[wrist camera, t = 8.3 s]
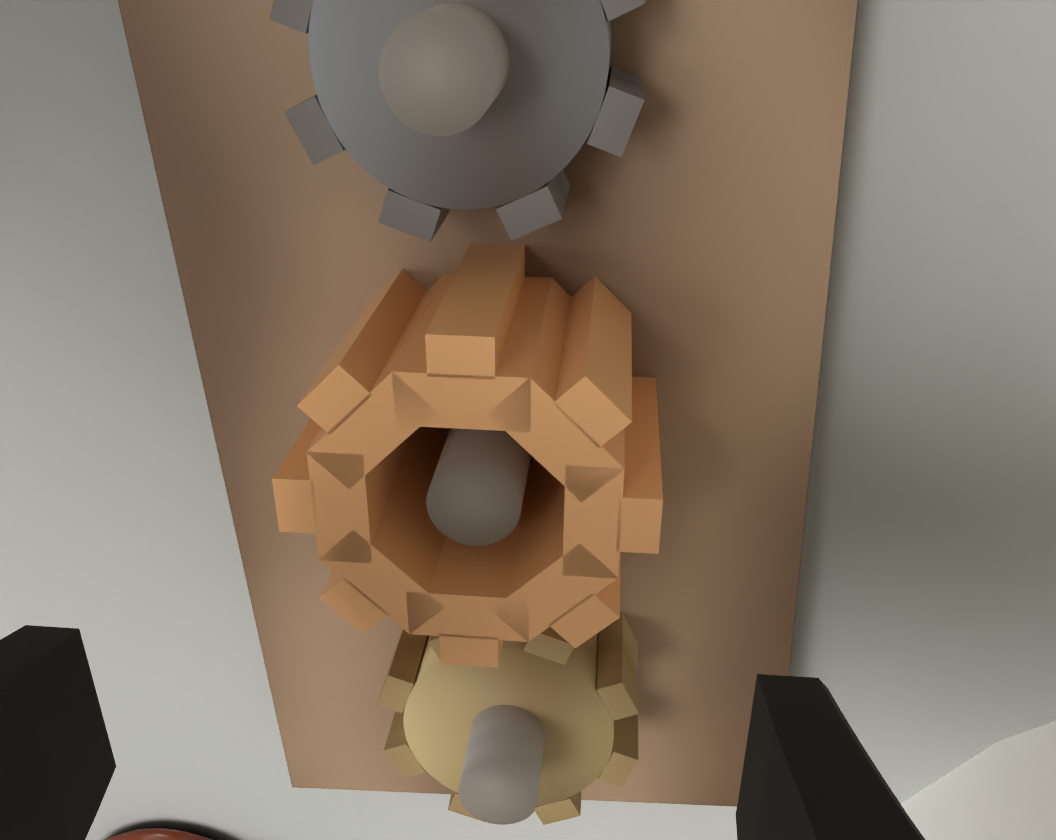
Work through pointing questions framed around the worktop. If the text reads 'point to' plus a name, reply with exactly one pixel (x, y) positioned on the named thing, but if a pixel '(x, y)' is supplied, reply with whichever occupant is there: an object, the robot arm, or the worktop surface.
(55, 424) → the worktop surface
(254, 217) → the gear board
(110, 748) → the robot arm
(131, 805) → the worktop surface
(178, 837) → the supplement bottle
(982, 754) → the container
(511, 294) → the idler gear
